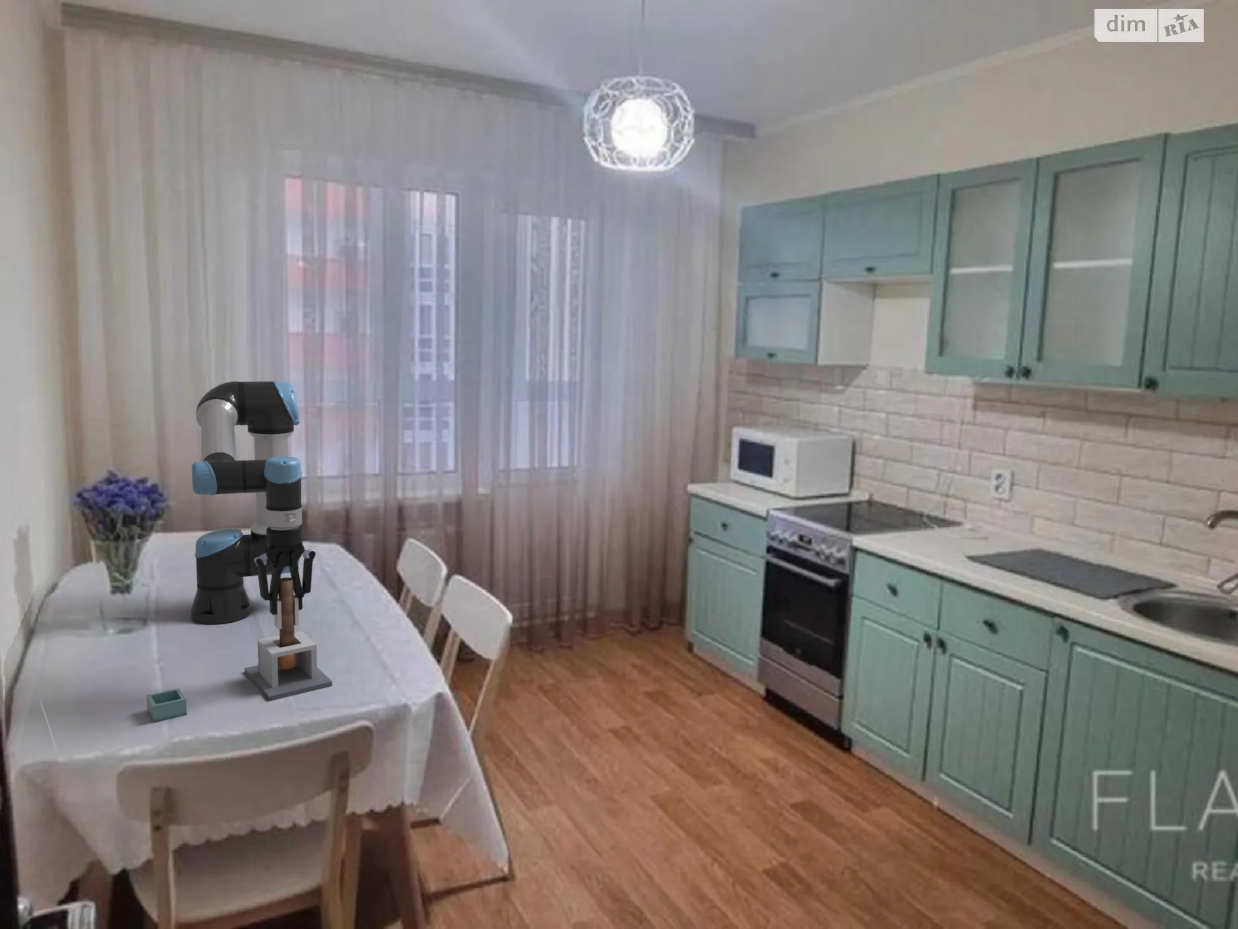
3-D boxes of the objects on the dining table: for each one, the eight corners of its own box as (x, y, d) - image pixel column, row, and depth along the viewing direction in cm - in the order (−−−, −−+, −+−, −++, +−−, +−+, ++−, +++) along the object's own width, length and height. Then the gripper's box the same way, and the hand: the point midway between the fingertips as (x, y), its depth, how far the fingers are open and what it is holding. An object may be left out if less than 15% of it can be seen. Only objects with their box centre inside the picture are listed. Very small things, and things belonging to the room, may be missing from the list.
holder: (147, 711, 180) (146, 695, 180) (179, 703, 184) (178, 688, 184) (153, 722, 176) (152, 706, 175) (186, 714, 179) (186, 699, 179)
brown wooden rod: (277, 645, 197) (276, 578, 194) (291, 642, 199) (290, 576, 196) (282, 650, 195) (280, 582, 192) (296, 647, 197) (295, 580, 194)
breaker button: (276, 664, 198) (276, 646, 197) (293, 661, 201) (292, 643, 200) (281, 670, 195) (281, 651, 194) (298, 666, 198) (298, 648, 197)
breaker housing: (244, 672, 201) (243, 635, 199) (304, 659, 210) (303, 624, 208) (269, 701, 187) (268, 662, 186) (332, 685, 196) (331, 648, 194)
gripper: (251, 534, 184) (254, 637, 188) (326, 525, 194) (327, 623, 198) (241, 526, 190) (244, 627, 194) (314, 518, 200) (315, 614, 204)
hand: (286, 625), depth 196 cm, fingers closed on brown wooden rod, 3 cm apart
